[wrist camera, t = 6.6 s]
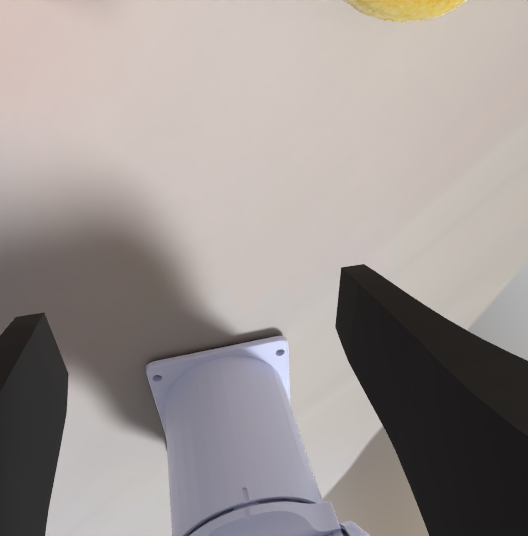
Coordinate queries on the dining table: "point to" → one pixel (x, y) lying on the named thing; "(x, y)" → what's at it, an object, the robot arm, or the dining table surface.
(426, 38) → the dining table surface
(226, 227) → the dining table surface
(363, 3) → the bread roll
